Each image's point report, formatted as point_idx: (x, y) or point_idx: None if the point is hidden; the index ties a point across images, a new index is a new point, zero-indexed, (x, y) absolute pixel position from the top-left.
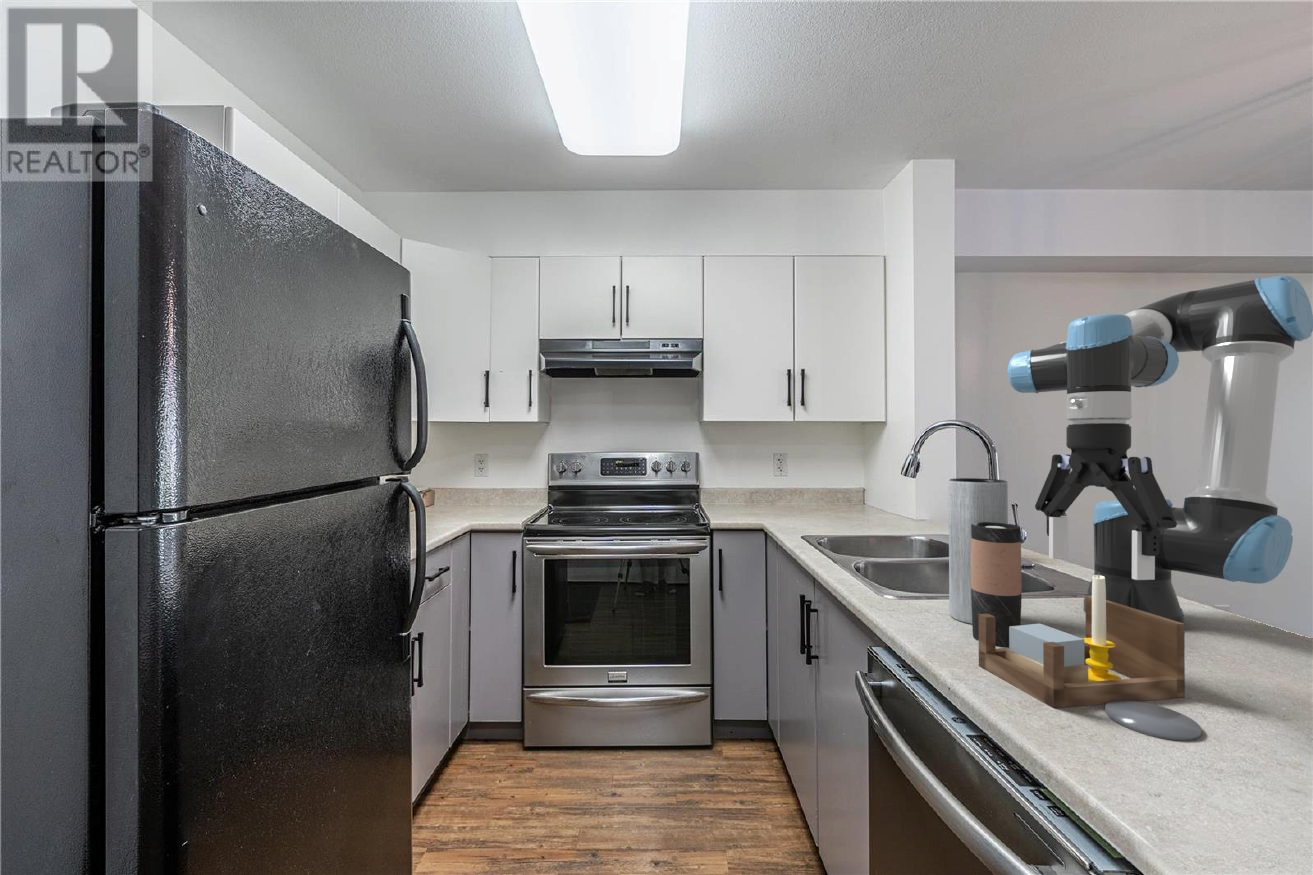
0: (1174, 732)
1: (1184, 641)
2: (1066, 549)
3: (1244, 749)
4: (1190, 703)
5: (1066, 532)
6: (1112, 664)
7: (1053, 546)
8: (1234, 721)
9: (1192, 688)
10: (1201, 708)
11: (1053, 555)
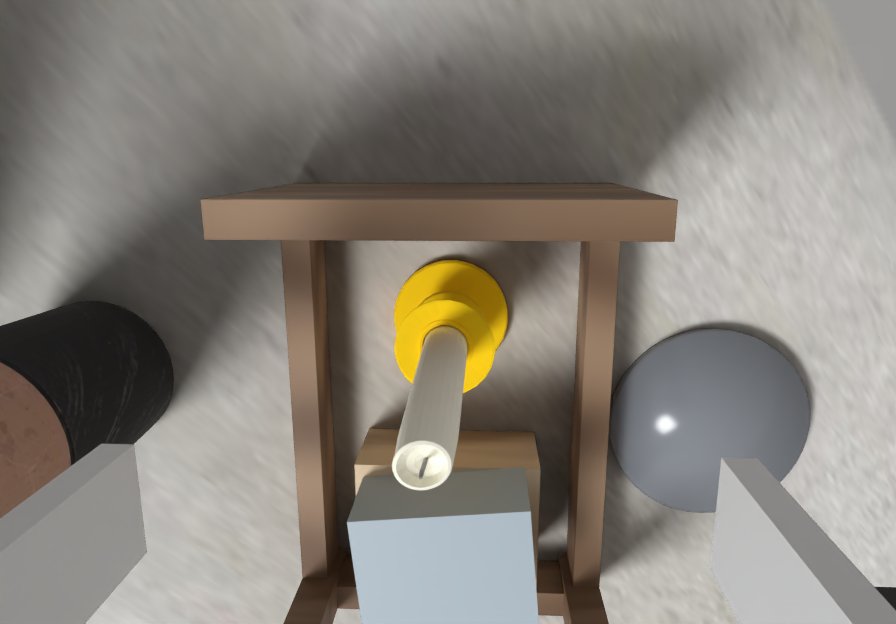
0: (789, 450)
1: (655, 194)
2: (99, 489)
3: (870, 337)
4: None
5: (5, 571)
6: (472, 303)
7: (97, 604)
8: (760, 199)
9: (561, 84)
10: (677, 207)
11: (133, 562)
